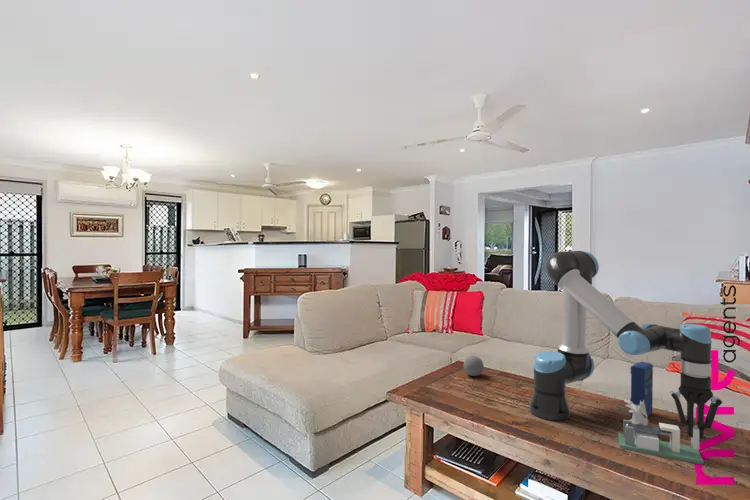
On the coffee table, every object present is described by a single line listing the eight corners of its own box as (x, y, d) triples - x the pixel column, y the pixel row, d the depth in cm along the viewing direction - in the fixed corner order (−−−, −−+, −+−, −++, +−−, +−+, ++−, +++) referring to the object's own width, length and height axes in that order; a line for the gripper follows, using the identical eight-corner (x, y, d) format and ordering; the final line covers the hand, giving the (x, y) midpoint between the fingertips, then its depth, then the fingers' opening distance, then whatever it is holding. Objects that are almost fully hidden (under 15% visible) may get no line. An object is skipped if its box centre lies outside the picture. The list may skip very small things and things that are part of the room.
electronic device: (644, 420, 151) (644, 368, 151) (629, 416, 155) (629, 365, 155) (653, 413, 157) (653, 363, 157) (638, 409, 161) (639, 360, 161)
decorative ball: (464, 378, 199) (464, 358, 199) (463, 371, 209) (462, 353, 208) (484, 379, 197) (484, 359, 197) (482, 372, 207) (482, 353, 207)
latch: (660, 449, 129) (661, 427, 129) (658, 444, 132) (659, 422, 132) (679, 452, 127) (680, 430, 127) (677, 447, 130) (677, 425, 130)
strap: (626, 430, 133) (625, 425, 133) (624, 425, 137) (624, 420, 137) (671, 437, 128) (671, 432, 128) (668, 432, 131) (668, 427, 131)
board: (620, 447, 132) (620, 427, 132) (617, 435, 140) (617, 416, 140) (703, 464, 122) (704, 442, 122) (696, 450, 130) (696, 430, 130)
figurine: (629, 422, 150) (630, 391, 150) (653, 430, 144) (653, 397, 144) (617, 430, 144) (617, 398, 143) (641, 439, 138) (641, 405, 137)
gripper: (718, 373, 126) (718, 446, 126) (668, 367, 132) (667, 437, 133) (725, 380, 119) (725, 458, 120) (672, 374, 125) (672, 448, 126)
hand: (695, 447), depth 126 cm, fingers closed
